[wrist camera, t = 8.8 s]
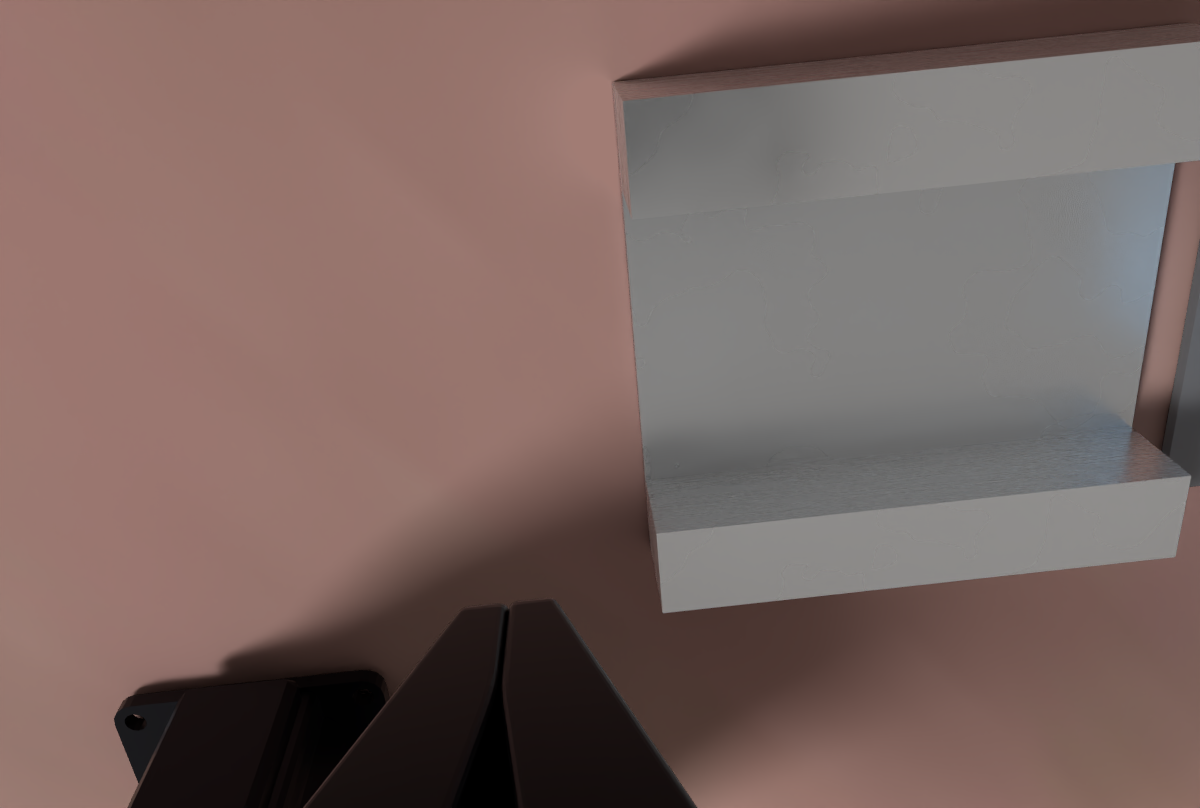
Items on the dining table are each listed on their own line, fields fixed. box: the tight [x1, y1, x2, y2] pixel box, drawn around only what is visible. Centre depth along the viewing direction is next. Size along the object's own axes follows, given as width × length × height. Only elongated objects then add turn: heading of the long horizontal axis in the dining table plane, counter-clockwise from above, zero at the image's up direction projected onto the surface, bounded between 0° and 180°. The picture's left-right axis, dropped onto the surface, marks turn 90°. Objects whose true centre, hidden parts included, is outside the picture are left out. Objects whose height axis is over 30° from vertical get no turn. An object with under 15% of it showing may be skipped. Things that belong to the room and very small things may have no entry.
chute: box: [612, 23, 1200, 613], centre depth 19 cm, size 11×10×2 cm
